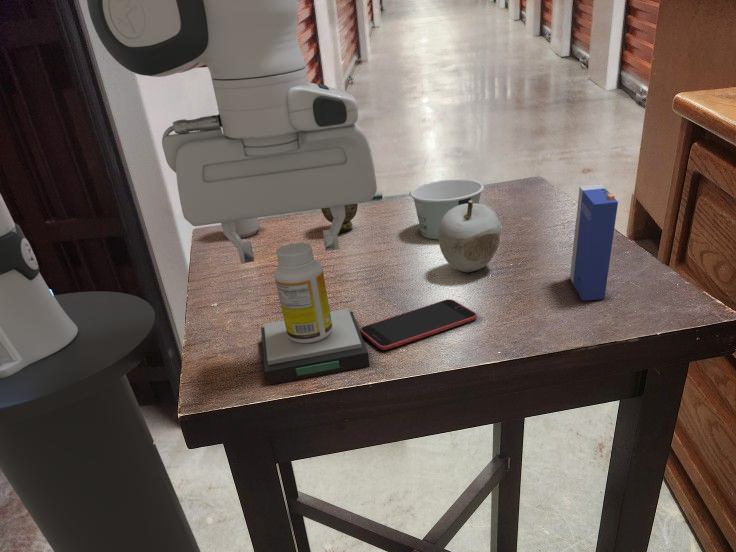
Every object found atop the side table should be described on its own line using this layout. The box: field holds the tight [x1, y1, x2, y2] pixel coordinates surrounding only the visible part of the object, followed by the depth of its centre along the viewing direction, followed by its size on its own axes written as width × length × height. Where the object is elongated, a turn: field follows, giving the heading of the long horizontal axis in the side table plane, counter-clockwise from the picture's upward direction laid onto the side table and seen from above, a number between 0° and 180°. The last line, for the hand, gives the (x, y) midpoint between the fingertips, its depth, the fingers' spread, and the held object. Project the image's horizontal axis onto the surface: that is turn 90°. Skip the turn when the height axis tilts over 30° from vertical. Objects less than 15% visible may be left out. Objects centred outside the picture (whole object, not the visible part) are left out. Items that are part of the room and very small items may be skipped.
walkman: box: [569, 184, 619, 302], centre depth 77 cm, size 8×3×12 cm, turn 178°
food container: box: [410, 178, 485, 241], centre depth 102 cm, size 12×12×6 cm
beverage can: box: [235, 218, 260, 239], centre depth 112 cm, size 6×6×12 cm
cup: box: [320, 203, 359, 233], centre depth 108 cm, size 8×7×8 cm
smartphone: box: [359, 298, 478, 351], centre depth 77 cm, size 7×1×14 cm
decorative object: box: [438, 200, 502, 273], centre depth 87 cm, size 9×9×10 cm
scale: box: [260, 308, 371, 386], centre depth 75 cm, size 12×12×2 cm
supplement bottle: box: [273, 242, 332, 343], centre depth 71 cm, size 6×6×10 cm
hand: (290, 254), depth 68 cm, fingers open, 8 cm apart
